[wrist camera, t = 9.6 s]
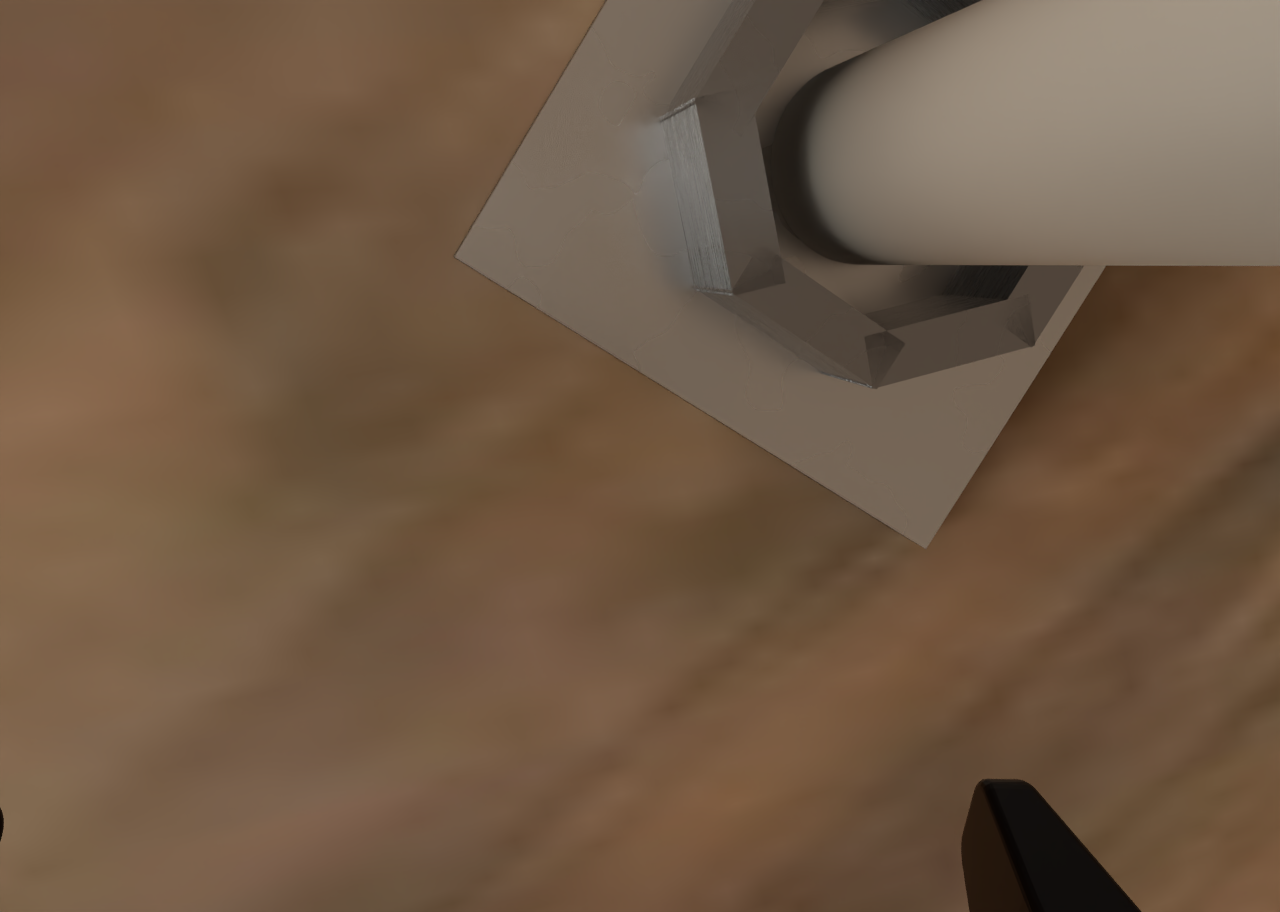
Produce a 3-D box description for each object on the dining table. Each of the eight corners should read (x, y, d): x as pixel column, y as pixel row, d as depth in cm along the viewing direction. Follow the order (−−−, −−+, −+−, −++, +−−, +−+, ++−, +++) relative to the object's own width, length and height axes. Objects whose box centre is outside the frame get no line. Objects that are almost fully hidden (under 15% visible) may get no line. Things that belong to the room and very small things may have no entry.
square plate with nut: (909, 539, 23) (986, 584, 20) (453, 256, 20) (459, 257, 17) (1196, 87, 23) (1323, 59, 19) (775, -286, 19) (845, -393, 16)
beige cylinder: (930, 279, 21) (1692, 303, 9) (754, 246, 20) (1339, 218, 8) (970, 85, 21) (1849, -185, 8) (791, 39, 20) (1489, -349, 7)
